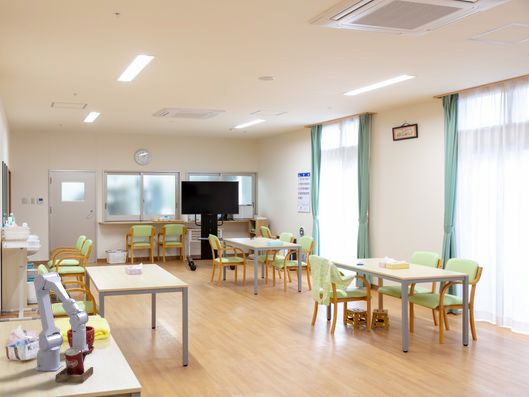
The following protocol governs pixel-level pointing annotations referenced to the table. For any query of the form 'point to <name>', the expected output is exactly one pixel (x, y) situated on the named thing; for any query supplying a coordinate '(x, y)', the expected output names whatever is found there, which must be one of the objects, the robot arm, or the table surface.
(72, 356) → the soda can
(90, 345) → the plant pot
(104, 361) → the table surface
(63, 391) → the table surface
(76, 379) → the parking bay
